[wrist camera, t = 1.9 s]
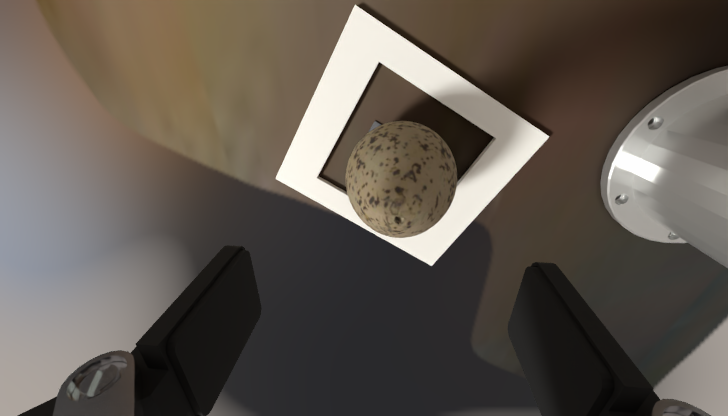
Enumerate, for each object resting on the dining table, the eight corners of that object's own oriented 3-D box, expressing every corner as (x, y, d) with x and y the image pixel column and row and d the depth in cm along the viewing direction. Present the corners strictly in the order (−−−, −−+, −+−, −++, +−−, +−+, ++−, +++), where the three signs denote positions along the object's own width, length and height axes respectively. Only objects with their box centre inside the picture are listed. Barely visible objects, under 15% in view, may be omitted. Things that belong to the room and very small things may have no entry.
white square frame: (546, 135, 21) (549, 136, 21) (431, 262, 27) (431, 265, 27) (356, 6, 19) (355, 4, 19) (277, 176, 25) (275, 178, 25)
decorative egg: (372, 207, 25) (356, 286, 17) (342, 128, 23) (304, 173, 14) (455, 186, 24) (487, 262, 15) (435, 97, 21) (459, 125, 12)
